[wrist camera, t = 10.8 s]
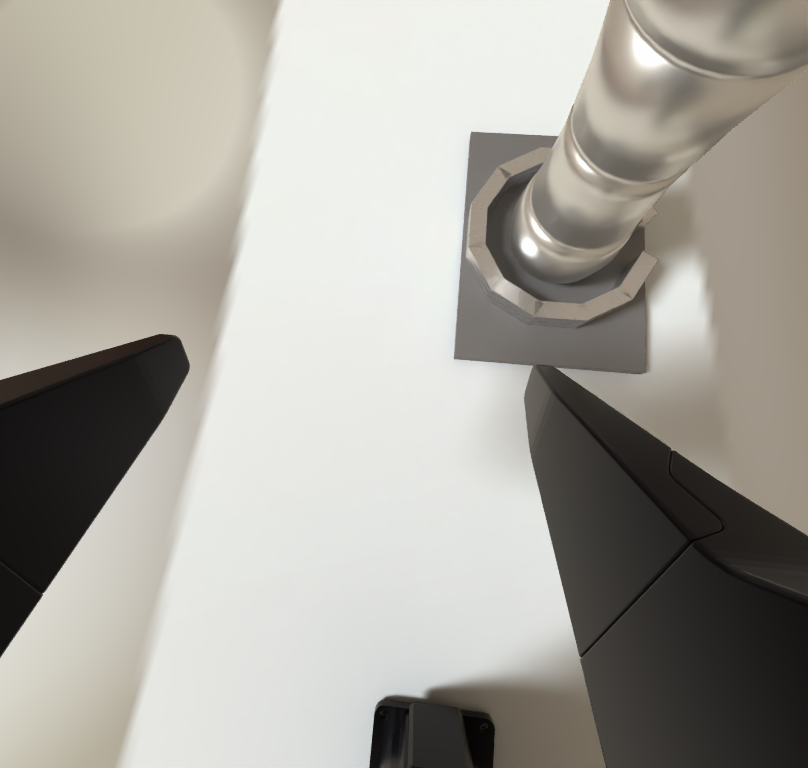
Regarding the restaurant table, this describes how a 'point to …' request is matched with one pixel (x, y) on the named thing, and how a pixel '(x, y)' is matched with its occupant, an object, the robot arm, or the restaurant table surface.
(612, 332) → the ring mat
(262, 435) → the restaurant table surface
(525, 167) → the split ring
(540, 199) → the plastic bottle
